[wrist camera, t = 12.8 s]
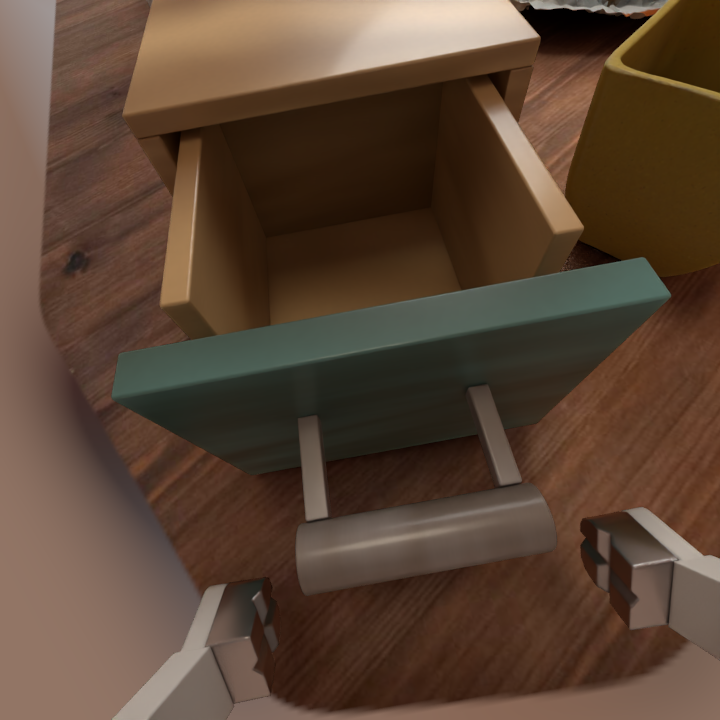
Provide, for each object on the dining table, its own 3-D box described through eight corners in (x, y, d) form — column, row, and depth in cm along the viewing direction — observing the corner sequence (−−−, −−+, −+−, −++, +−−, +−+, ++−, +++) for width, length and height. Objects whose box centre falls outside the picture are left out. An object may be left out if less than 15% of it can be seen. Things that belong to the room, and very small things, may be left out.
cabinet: (478, 267, 21) (542, 36, 12) (243, 310, 21) (120, 115, 12) (418, 122, 28) (429, -95, 19) (241, 155, 28) (163, -46, 19)
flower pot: (749, 222, 21) (966, 17, 13) (686, 324, 18) (909, 146, 10) (596, 165, 24) (694, -27, 16) (524, 245, 21) (599, 62, 14)
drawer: (583, 537, 14) (831, 514, 6) (252, 596, 14) (63, 652, 6) (450, 209, 22) (479, 22, 14) (246, 247, 22) (165, 81, 14)
